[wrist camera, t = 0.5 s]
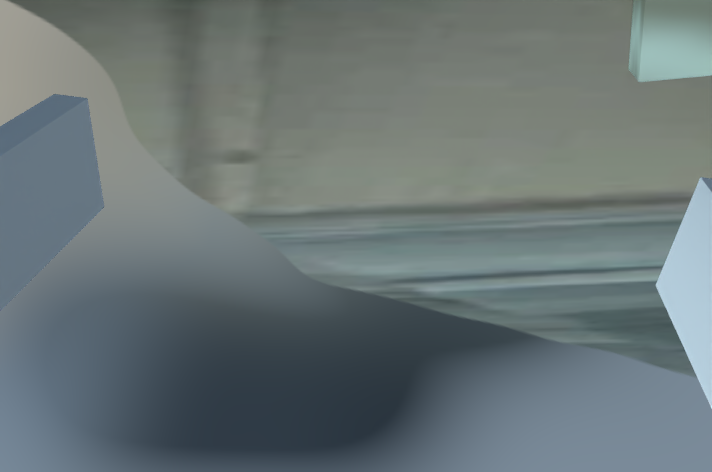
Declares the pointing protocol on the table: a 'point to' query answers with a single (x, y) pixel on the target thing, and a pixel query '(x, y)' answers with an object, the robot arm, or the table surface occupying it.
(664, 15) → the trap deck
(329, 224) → the table surface
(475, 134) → the table surface
